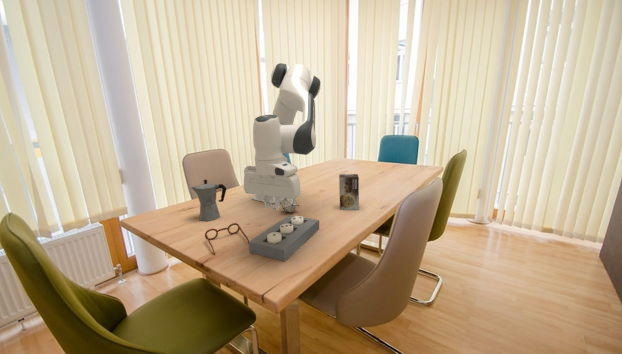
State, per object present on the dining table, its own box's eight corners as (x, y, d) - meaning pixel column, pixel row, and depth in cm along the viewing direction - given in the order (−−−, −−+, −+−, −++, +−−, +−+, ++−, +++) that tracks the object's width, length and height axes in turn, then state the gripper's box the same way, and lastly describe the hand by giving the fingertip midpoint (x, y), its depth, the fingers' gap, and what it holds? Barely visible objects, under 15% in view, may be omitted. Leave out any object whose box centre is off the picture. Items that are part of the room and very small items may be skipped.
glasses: (239, 232, 108) (238, 221, 107) (251, 245, 97) (250, 232, 96) (205, 242, 101) (203, 229, 100) (213, 256, 90) (211, 243, 89)
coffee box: (357, 205, 133) (358, 173, 129) (358, 210, 127) (359, 176, 123) (339, 205, 134) (339, 173, 130) (339, 210, 128) (339, 177, 124)
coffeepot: (191, 222, 119) (185, 182, 115) (199, 214, 128) (194, 177, 124) (226, 220, 120) (222, 181, 115) (231, 213, 129) (227, 176, 125)
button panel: (249, 252, 91) (248, 241, 90) (289, 223, 114) (288, 215, 113) (284, 261, 85) (284, 249, 84) (319, 229, 108) (319, 219, 107)
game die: (289, 221, 126) (279, 209, 119) (282, 210, 132) (273, 198, 126) (304, 210, 127) (296, 197, 120) (297, 199, 133) (289, 187, 126)
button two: (289, 227, 105) (288, 219, 104) (295, 223, 109) (295, 214, 108) (300, 229, 103) (299, 221, 102) (305, 225, 107) (305, 216, 106)
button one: (265, 246, 91) (264, 236, 90) (273, 240, 95) (272, 230, 94) (276, 249, 89) (276, 238, 88) (284, 242, 93) (284, 232, 92)
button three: (278, 236, 98) (277, 227, 97) (285, 231, 102) (284, 222, 101) (289, 238, 96) (288, 229, 95) (296, 233, 100) (295, 224, 99)
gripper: (237, 167, 88) (241, 207, 91) (291, 171, 79) (293, 215, 82) (249, 163, 93) (253, 201, 96) (301, 167, 84) (303, 209, 87)
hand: (272, 208), depth 89 cm, fingers closed
